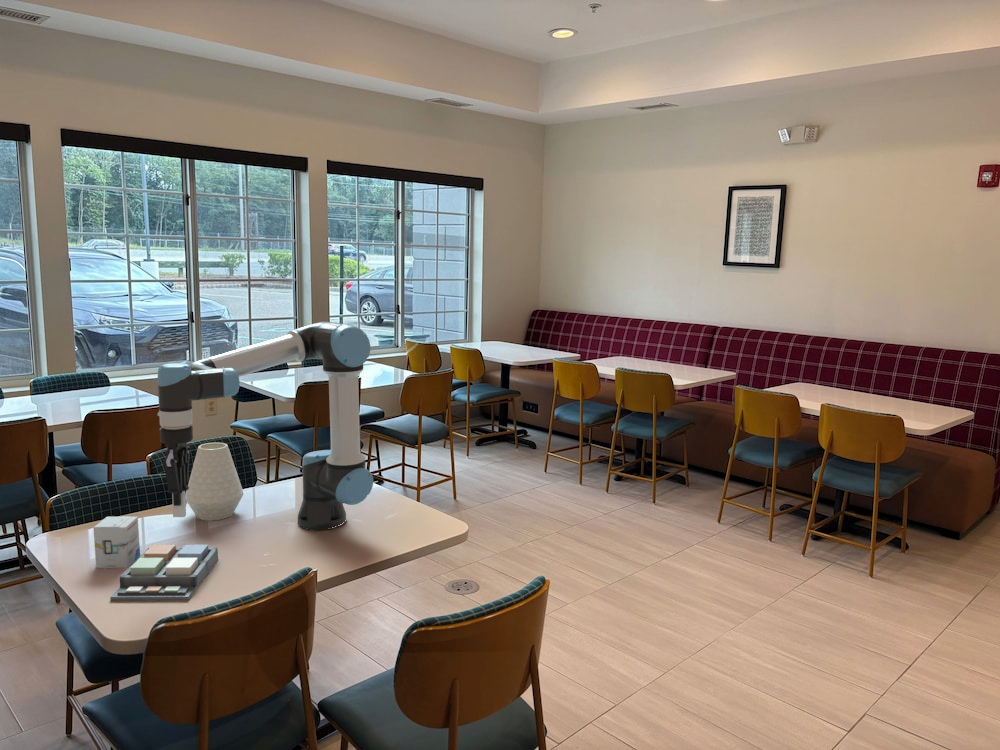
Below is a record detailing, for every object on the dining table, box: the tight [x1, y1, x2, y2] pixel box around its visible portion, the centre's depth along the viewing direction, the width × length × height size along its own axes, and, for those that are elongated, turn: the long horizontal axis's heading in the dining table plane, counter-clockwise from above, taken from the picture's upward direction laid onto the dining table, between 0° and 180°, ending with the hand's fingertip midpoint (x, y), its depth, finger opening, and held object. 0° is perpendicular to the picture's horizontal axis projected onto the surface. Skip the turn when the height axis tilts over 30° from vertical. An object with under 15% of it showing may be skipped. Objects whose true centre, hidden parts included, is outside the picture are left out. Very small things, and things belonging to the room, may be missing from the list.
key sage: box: [129, 557, 164, 575], centre depth 186 cm, size 6×6×2 cm
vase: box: [185, 442, 244, 522], centre depth 233 cm, size 18×17×23 cm
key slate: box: [178, 544, 209, 561], centre depth 195 cm, size 6×6×2 cm
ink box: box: [93, 515, 141, 569], centre depth 197 cm, size 9×8×12 cm
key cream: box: [166, 558, 198, 575], centre depth 187 cm, size 6×6×2 cm
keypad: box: [109, 547, 219, 602], centre depth 189 cm, size 18×24×4 cm
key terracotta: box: [143, 544, 177, 561], centre depth 195 cm, size 6×6×2 cm
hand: (179, 516), depth 185 cm, fingers closed
